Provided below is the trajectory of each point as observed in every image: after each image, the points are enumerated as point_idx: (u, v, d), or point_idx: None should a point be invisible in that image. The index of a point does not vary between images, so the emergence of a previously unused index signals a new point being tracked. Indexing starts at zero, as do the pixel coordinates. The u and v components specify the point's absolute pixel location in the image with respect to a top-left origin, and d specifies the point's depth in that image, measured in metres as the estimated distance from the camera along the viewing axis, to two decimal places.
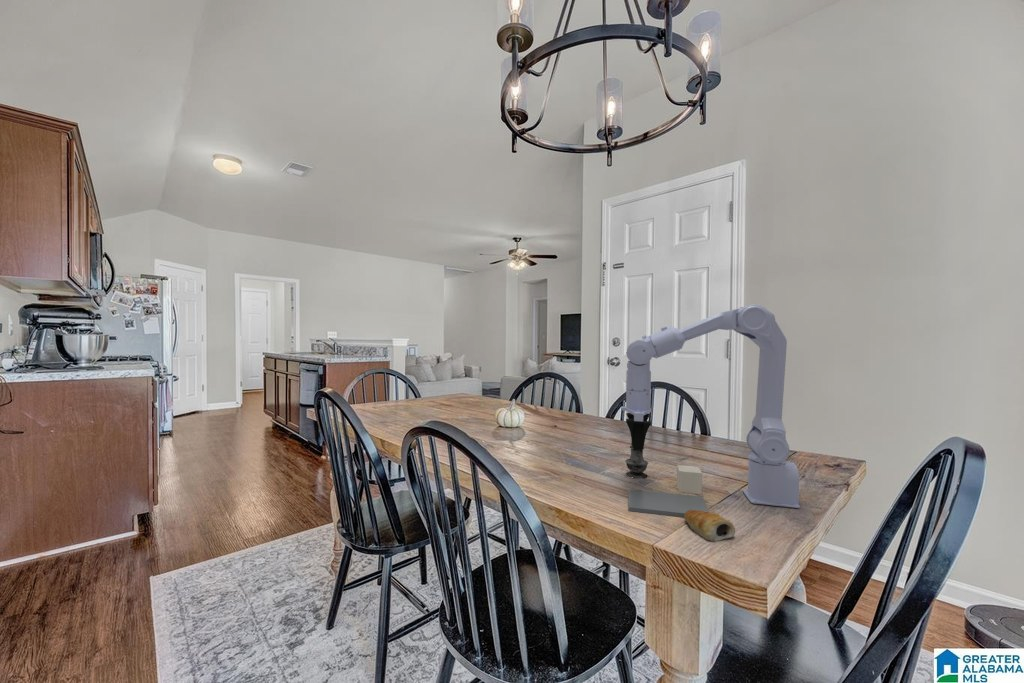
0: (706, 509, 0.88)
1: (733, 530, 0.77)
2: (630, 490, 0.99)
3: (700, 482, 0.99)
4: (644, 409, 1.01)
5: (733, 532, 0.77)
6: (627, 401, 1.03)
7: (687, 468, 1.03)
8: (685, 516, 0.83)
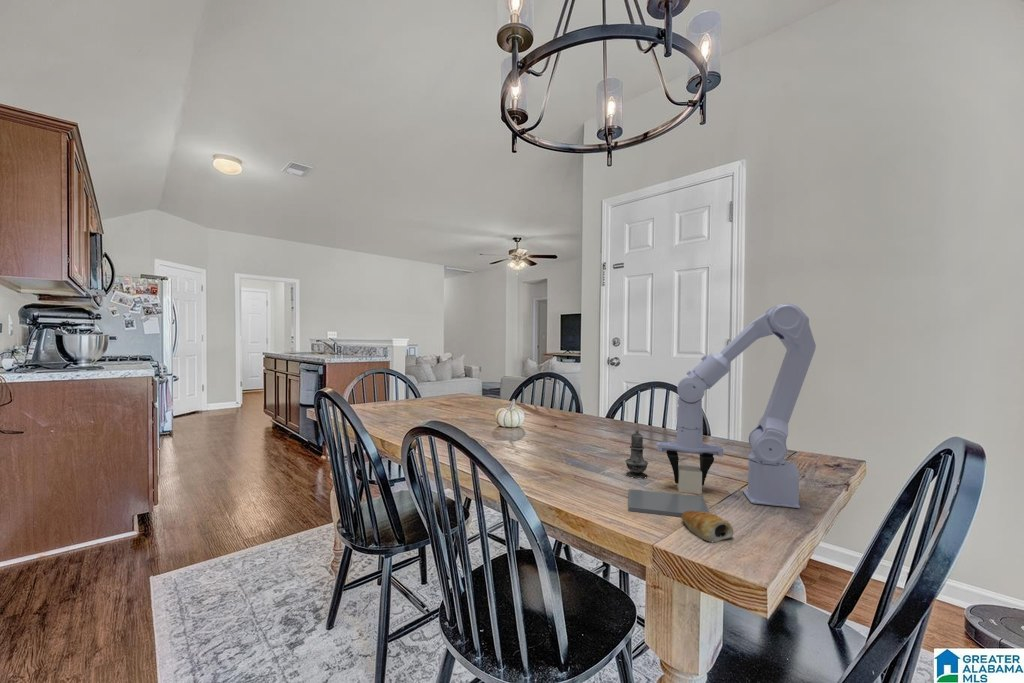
0: (706, 509, 0.88)
1: (732, 530, 0.77)
2: (630, 490, 0.99)
3: (700, 482, 0.99)
4: (678, 445, 1.02)
5: (731, 533, 0.77)
6: None
7: (687, 467, 1.03)
8: (683, 517, 0.83)
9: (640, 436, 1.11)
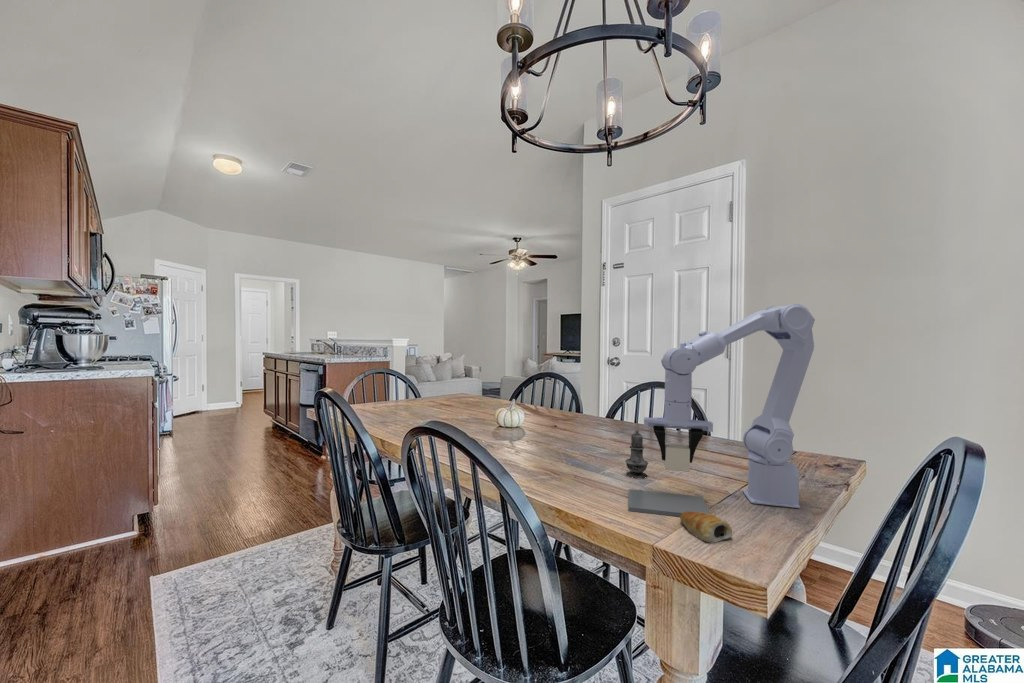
0: (706, 509, 0.88)
1: (730, 530, 0.77)
2: (630, 490, 0.99)
3: (688, 459, 0.94)
4: (665, 420, 0.96)
5: (730, 533, 0.77)
6: None
7: (674, 445, 0.97)
8: (681, 518, 0.83)
9: (640, 436, 1.11)
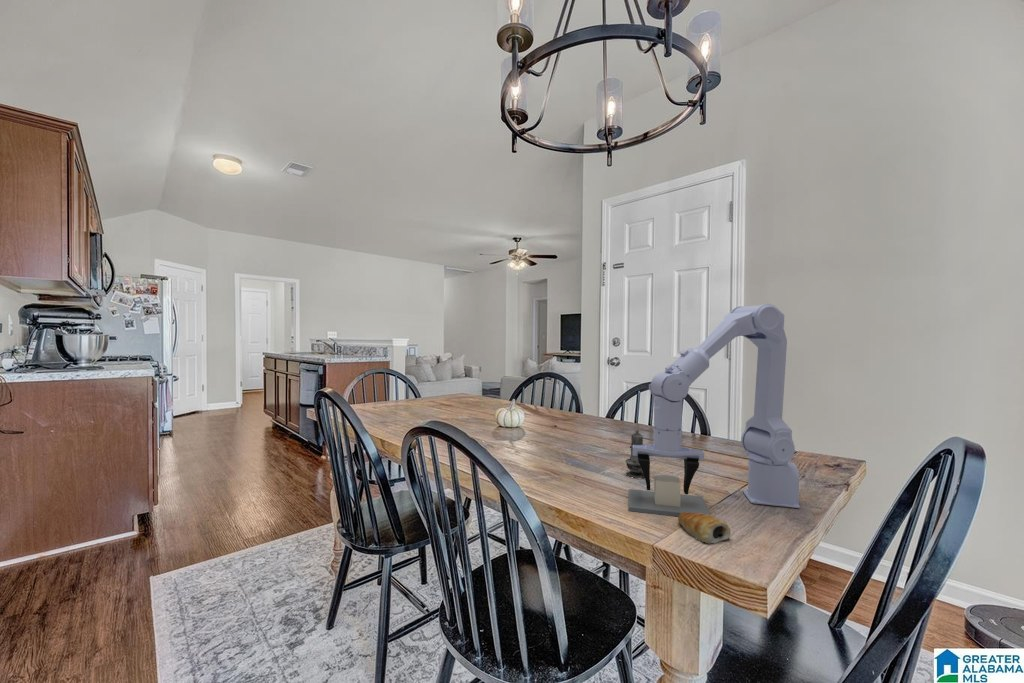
0: (706, 509, 0.88)
1: (729, 531, 0.77)
2: (630, 490, 0.99)
3: (678, 493, 0.90)
4: (655, 448, 0.92)
5: (729, 534, 0.77)
6: None
7: (664, 477, 0.93)
8: (679, 519, 0.82)
9: (640, 436, 1.11)
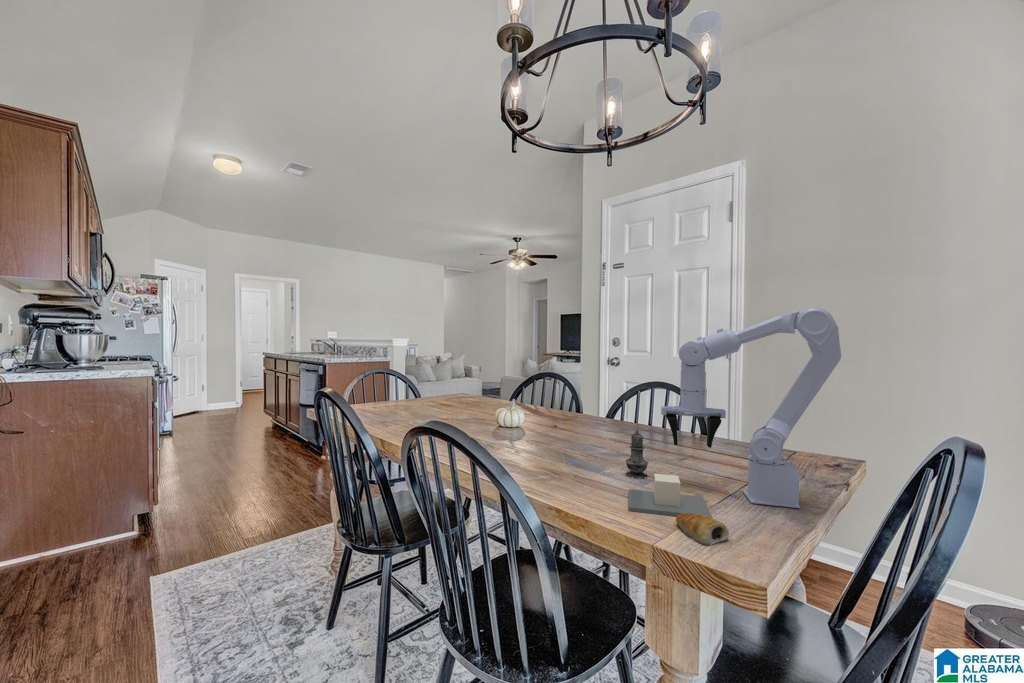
0: (706, 509, 0.88)
1: (727, 532, 0.76)
2: (630, 490, 0.99)
3: (678, 493, 0.90)
4: (682, 408, 1.04)
5: (727, 534, 0.76)
6: None
7: (664, 477, 0.93)
8: (677, 520, 0.82)
9: (640, 436, 1.11)
